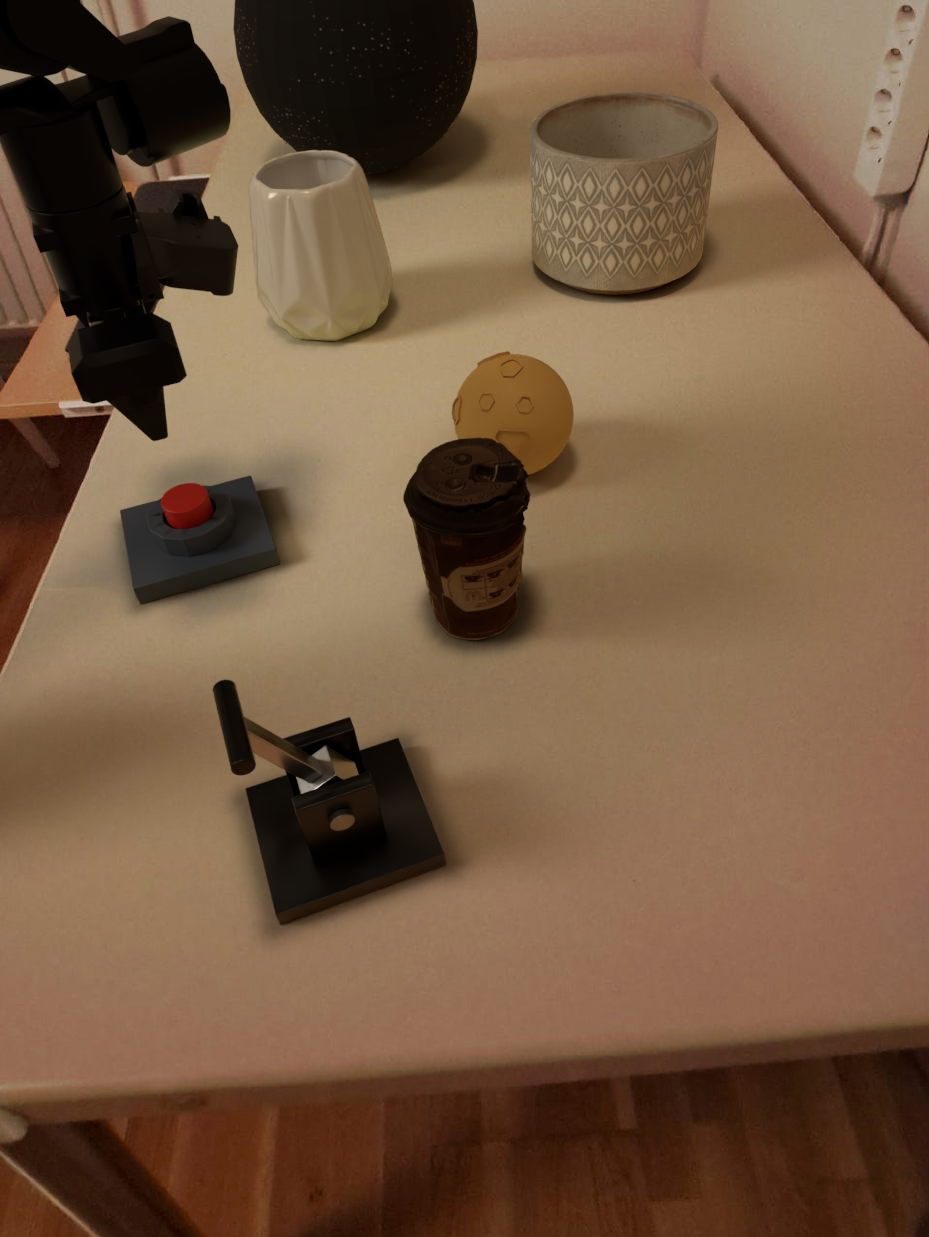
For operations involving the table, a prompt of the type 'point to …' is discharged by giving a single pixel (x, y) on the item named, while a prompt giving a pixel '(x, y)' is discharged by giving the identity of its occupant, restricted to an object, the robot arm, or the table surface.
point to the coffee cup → (470, 533)
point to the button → (187, 506)
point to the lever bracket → (342, 826)
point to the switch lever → (273, 746)
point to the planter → (620, 190)
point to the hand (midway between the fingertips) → (154, 414)
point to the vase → (318, 245)
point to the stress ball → (516, 408)
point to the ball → (358, 72)
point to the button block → (198, 543)
